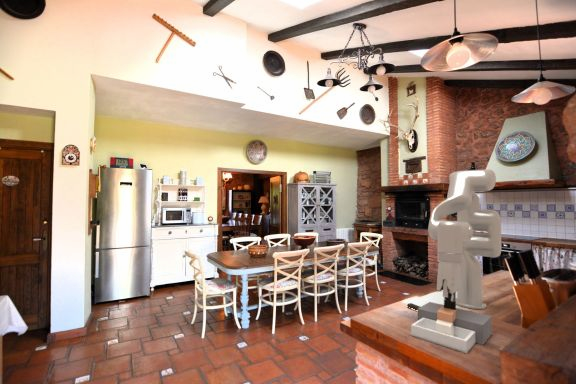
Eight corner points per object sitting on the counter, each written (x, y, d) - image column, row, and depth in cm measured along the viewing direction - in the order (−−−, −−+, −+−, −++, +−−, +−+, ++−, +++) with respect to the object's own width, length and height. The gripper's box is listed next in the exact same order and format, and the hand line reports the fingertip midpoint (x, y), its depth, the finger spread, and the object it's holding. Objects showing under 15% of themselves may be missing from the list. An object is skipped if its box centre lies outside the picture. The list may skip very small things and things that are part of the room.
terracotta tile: (441, 314, 101) (441, 306, 100) (456, 317, 98) (455, 310, 97) (437, 319, 97) (437, 311, 97) (452, 322, 94) (452, 315, 94)
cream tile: (437, 318, 98) (435, 322, 96) (452, 322, 95) (450, 326, 93) (439, 330, 99) (437, 334, 97) (454, 334, 96) (452, 339, 94)
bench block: (429, 317, 114) (429, 301, 114) (491, 334, 100) (491, 316, 100) (417, 325, 105) (417, 308, 106) (483, 345, 91) (483, 325, 92)
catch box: (422, 327, 104) (423, 317, 104) (475, 343, 93) (475, 331, 93) (411, 335, 97) (411, 324, 97) (466, 353, 85) (466, 341, 86)
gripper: (445, 254, 109) (445, 305, 108) (430, 258, 99) (430, 314, 98) (468, 257, 104) (468, 310, 103) (455, 261, 93) (455, 321, 92)
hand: (449, 312), depth 100 cm, fingers closed
